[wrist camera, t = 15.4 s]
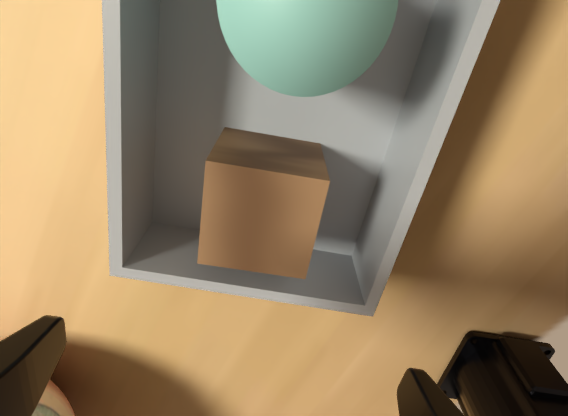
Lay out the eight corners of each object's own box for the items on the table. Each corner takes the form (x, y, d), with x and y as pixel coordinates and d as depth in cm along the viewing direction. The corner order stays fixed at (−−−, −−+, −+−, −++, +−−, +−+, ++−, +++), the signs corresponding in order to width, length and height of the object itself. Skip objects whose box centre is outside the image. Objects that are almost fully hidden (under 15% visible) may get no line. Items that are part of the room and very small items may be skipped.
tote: (356, 259, 23) (373, 316, 19) (145, 224, 22) (109, 275, 18) (470, -71, 16) (543, -106, 11) (154, -149, 15) (95, -222, 10)
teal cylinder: (348, 65, 18) (383, 99, 11) (243, 62, 18) (221, 94, 11) (362, -64, 15) (415, -109, 9) (240, -69, 15) (210, -117, 9)
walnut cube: (320, 143, 19) (330, 181, 15) (301, 225, 22) (305, 279, 17) (224, 126, 19) (205, 160, 15) (216, 212, 21) (197, 263, 17)
